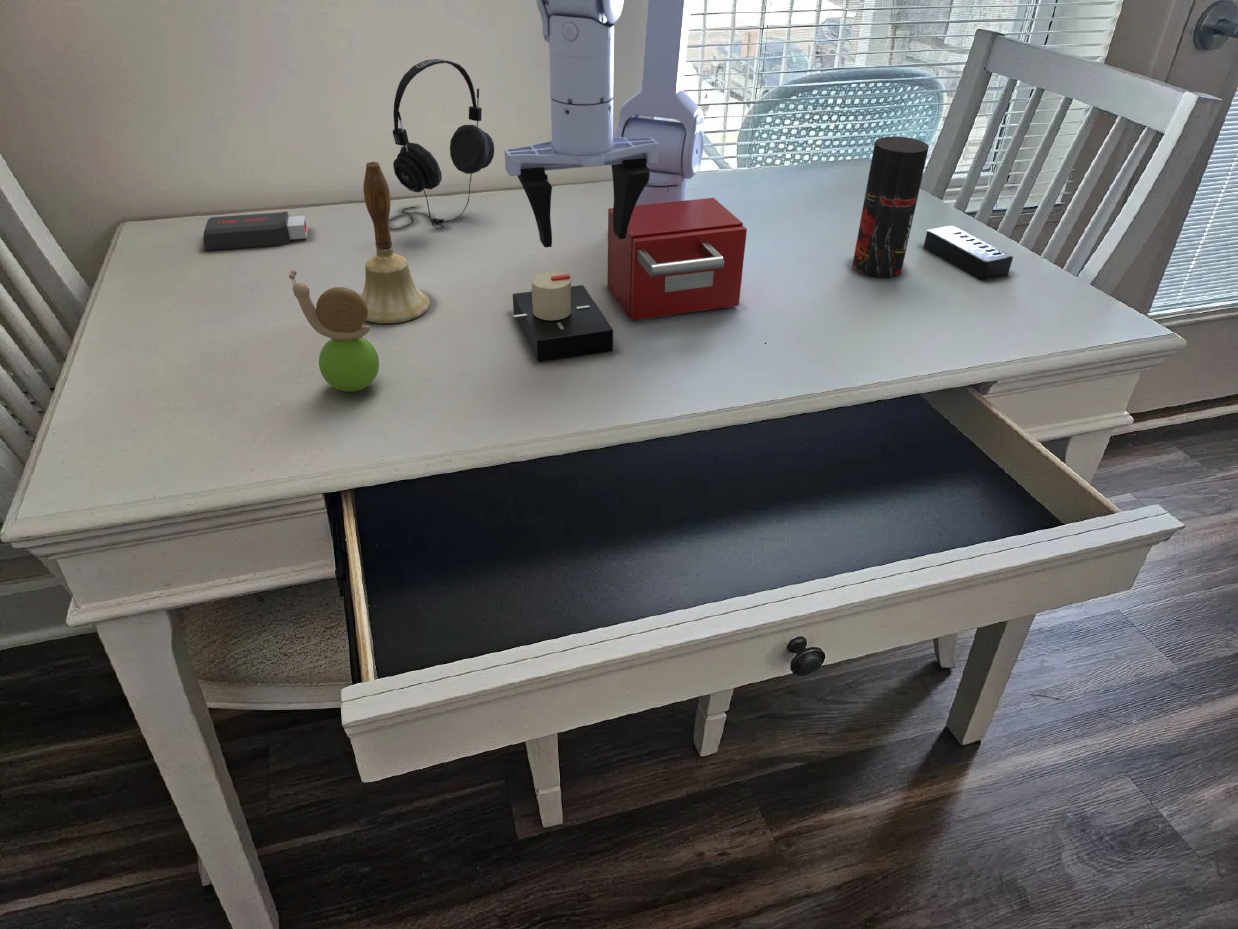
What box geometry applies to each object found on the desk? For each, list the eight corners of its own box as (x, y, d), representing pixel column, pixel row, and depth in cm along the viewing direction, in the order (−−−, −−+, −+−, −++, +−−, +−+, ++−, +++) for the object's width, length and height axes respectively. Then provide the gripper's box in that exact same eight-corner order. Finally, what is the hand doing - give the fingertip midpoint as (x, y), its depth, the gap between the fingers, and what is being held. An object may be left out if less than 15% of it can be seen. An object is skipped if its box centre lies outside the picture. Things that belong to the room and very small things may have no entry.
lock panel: (503, 315, 98) (502, 293, 96) (583, 305, 100) (583, 283, 99) (527, 364, 90) (525, 340, 88) (613, 351, 92) (613, 328, 90)
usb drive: (210, 234, 114) (205, 213, 113) (307, 227, 117) (303, 207, 115) (205, 250, 110) (199, 229, 109) (306, 243, 113) (302, 222, 111)
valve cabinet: (607, 288, 104) (608, 208, 98) (707, 275, 107) (713, 197, 101) (629, 319, 98) (631, 235, 92) (734, 304, 101) (743, 222, 95)
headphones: (447, 193, 128) (432, 41, 116) (506, 211, 123) (497, 54, 111) (366, 224, 118) (341, 62, 106) (427, 245, 113) (407, 77, 101)
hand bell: (443, 297, 101) (427, 155, 92) (406, 329, 95) (385, 181, 85) (379, 285, 103) (357, 145, 94) (338, 316, 97) (311, 170, 87)
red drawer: (630, 317, 97) (632, 238, 92) (736, 302, 100) (744, 225, 95) (647, 341, 93) (651, 259, 88) (757, 325, 96) (767, 245, 91)
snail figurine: (319, 374, 87) (295, 258, 80) (386, 372, 88) (367, 257, 81) (308, 404, 83) (281, 285, 76) (378, 402, 83) (358, 283, 76)
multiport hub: (981, 280, 107) (986, 262, 106) (921, 246, 115) (925, 229, 114) (1009, 274, 109) (1015, 256, 107) (948, 241, 117) (952, 224, 115)
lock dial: (538, 323, 91) (536, 287, 89) (528, 306, 94) (527, 271, 92) (575, 317, 92) (575, 283, 90) (565, 301, 95) (564, 267, 93)
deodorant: (902, 280, 107) (930, 154, 98) (852, 275, 108) (875, 150, 99) (900, 260, 112) (927, 138, 103) (852, 256, 112) (874, 134, 103)
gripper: (513, 114, 76) (521, 263, 84) (672, 102, 80) (665, 246, 88) (496, 93, 81) (505, 235, 90) (646, 83, 85) (641, 220, 93)
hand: (583, 239), depth 89 cm, fingers open, 7 cm apart
